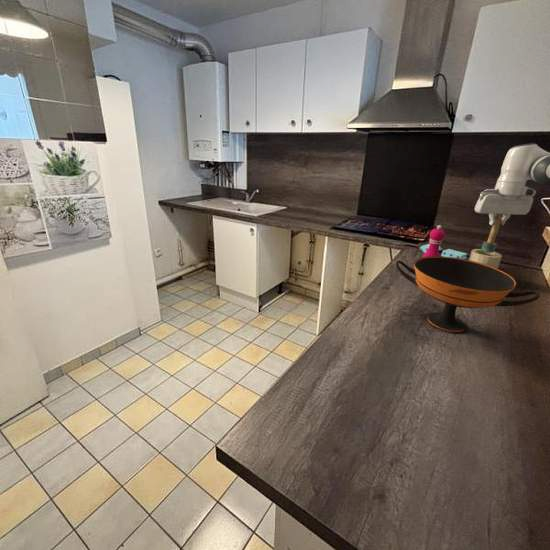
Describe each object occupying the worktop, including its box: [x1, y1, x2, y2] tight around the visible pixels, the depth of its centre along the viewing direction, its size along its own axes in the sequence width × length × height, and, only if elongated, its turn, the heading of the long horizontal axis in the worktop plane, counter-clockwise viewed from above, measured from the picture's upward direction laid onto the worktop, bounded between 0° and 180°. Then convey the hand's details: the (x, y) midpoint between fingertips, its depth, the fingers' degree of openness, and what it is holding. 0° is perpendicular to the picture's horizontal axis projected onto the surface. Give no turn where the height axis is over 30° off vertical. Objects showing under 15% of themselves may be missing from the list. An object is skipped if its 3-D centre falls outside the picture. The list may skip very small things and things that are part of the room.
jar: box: [468, 248, 503, 269], centre depth 125 cm, size 11×11×11 cm
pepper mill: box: [422, 224, 446, 257], centre depth 131 cm, size 7×7×20 cm
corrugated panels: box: [419, 243, 468, 260], centre depth 147 cm, size 34×3×10 cm
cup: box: [395, 255, 541, 333], centre depth 87 cm, size 36×26×18 cm
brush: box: [480, 214, 504, 253], centre depth 119 cm, size 5×5×16 cm
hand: (496, 224), depth 118 cm, fingers closed on brush, 2 cm apart
